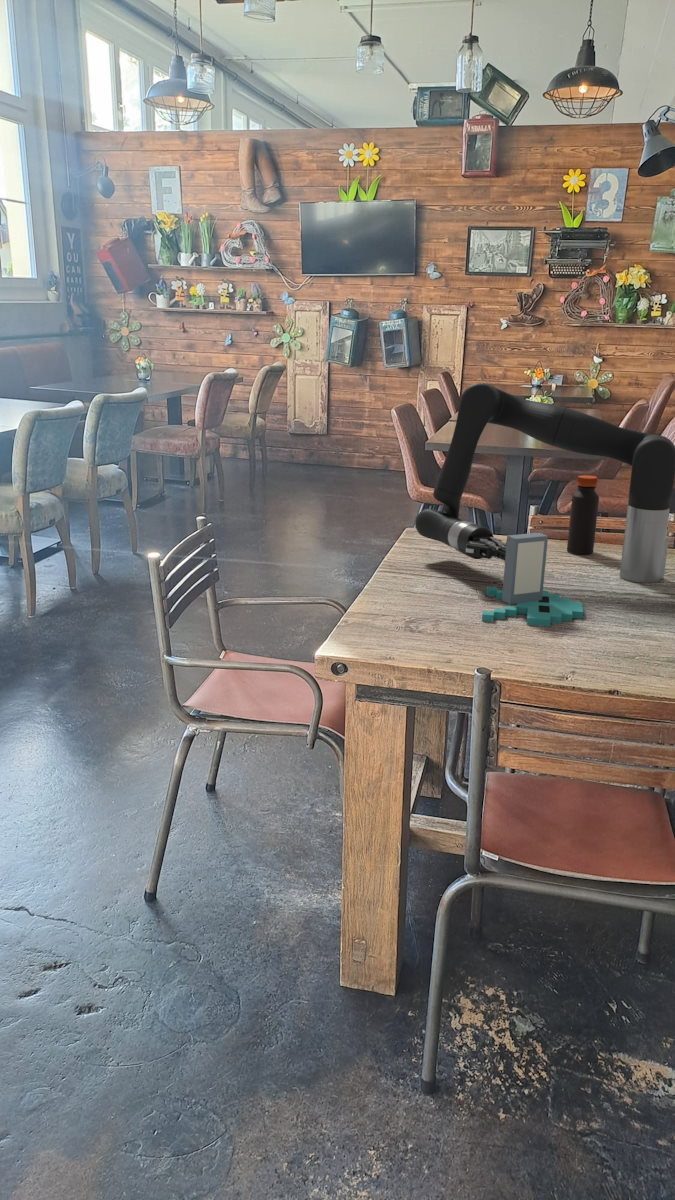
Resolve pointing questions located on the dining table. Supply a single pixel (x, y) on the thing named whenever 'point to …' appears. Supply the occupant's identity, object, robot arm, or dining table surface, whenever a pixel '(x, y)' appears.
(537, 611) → the alien figure
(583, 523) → the bottle
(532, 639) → the dining table surface
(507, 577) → the board
